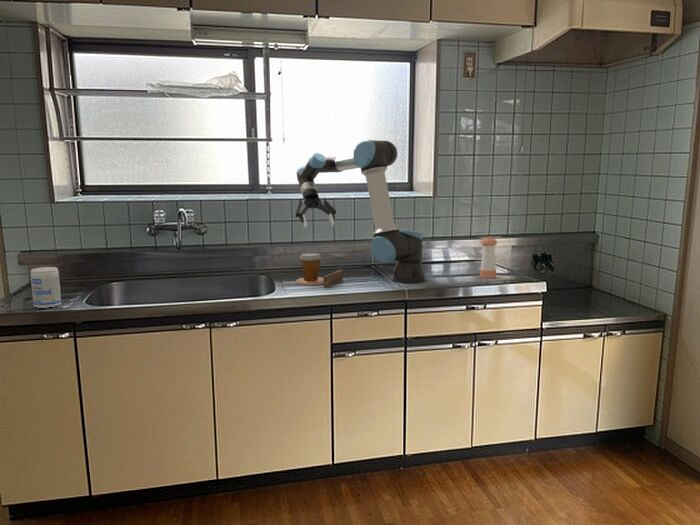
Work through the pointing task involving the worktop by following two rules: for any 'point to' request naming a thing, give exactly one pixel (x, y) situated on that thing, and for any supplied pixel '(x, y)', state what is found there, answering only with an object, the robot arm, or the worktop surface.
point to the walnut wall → (333, 278)
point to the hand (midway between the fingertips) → (319, 226)
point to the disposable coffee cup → (310, 266)
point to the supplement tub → (45, 287)
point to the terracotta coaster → (303, 282)
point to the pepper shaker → (488, 258)
